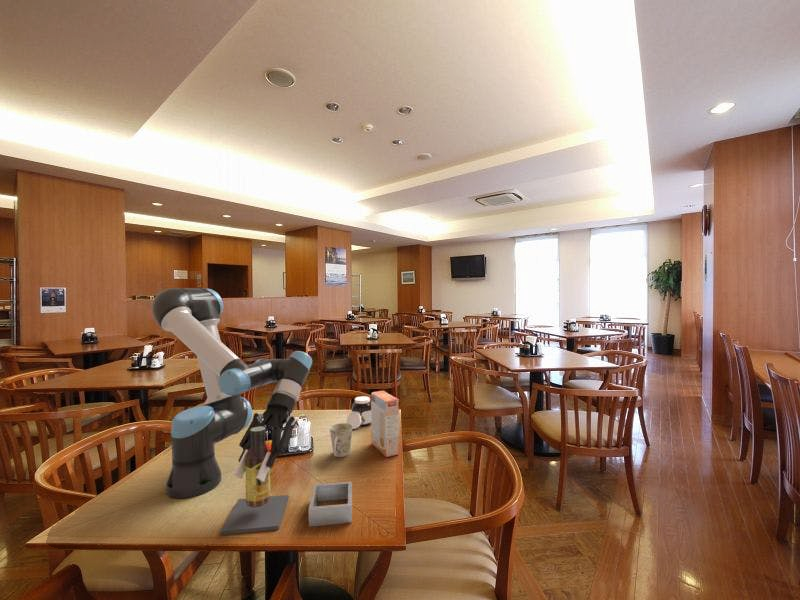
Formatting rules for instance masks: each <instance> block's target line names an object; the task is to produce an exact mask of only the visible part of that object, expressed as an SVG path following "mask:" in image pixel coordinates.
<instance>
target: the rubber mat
mask: <svg viewBox="0 0 800 600" xmlns="http://www.w3.org/2000/svg"><path fill="white" fill-rule="evenodd" d="M289 499H290V495H289V494H284V495H270V498H269V501H268V502H267V503H266V504H264V505H262V506H259V507H249V506H247V504H246V497H245V498H238V500H237V502H236V503H235V504H234V507H233V509H232V511H231V512H230V514H229V515H228V518H227V519H226V521H225V523H224V525H223V527H222V528H221V530H220V536H225V535H235V534H236V535H237V534H246V533H255V532H257V533H258V532H267V531H268V532H269V531H278V530H279V529H280V526H281V524H282V521H283V518H284V514H285V511H286V508H287V505H288V502H289Z"/></svg>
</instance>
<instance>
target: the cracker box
mask: <svg viewBox="0 0 800 600" xmlns="http://www.w3.org/2000/svg"><path fill="white" fill-rule="evenodd" d="M370 398H371V399H370V403H371V424H370V425H371V427H370V428H371V445H372V446H374V448H375V449H376V450H377V451H378V452H380V454H382V455H383V456H384V457H385V458H388V457H389V458H391V457H394V456H398V455H400V421H399V419H400V416H399V415H400V409H399V402H400V399H399V398H397V397H395V396H393V395H392V394H389V393H388V392H387V391H385V390H379V391H373V392H371V393H370Z"/></svg>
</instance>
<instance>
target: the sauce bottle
mask: <svg viewBox="0 0 800 600" xmlns="http://www.w3.org/2000/svg"><path fill="white" fill-rule="evenodd" d="M266 433H267V432H266V428H265V427H263V426H259V427H254V428H252V429H250V435H251V444H250V445H251V447H250V446H249V447H250V449H249V451H248V452H247V455H246V470H245V498H246V504H247V506H249V507H259V506H262V505H264V504H266V503H267V502H268V501H269V498H270V496H271V468H269V470H268V472H267V475H266V477H265V480H264V482H263V481H260V480H259V479H257V478H256V477H257V474H258V472H259V470H260V467H261V465H262V463H263V461H264V458H265V456H266V454H267V452H268V450H267V447H266V441H267V440H266Z"/></svg>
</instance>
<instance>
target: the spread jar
mask: <svg viewBox="0 0 800 600" xmlns="http://www.w3.org/2000/svg"><path fill="white" fill-rule="evenodd" d="M370 398H371V397H369V396H356V397H355V398H354V403H353V404H352V407H351V412H350V413H349V414H348V415H347V417H346V423H347V424H350V425H352V430H354V429H355V430H357V429H358V428H359V427H367V426H369V425H371V399H370Z"/></svg>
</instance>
